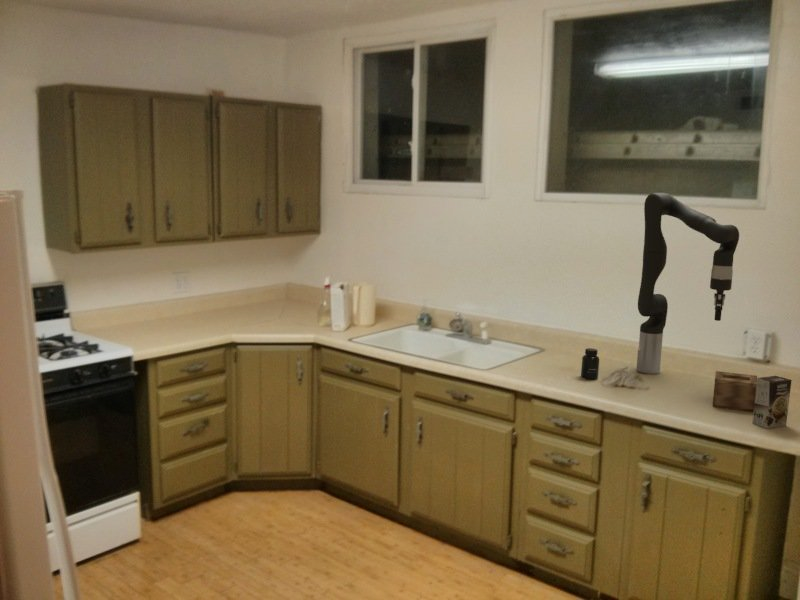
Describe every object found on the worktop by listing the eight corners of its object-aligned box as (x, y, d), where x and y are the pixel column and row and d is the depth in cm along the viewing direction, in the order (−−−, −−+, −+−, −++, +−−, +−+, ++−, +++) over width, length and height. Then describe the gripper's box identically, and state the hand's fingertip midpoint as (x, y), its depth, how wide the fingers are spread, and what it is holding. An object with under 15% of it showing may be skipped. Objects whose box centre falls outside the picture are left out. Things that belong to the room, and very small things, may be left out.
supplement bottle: (591, 381, 296) (593, 352, 294) (577, 377, 301) (579, 349, 299) (601, 378, 300) (603, 349, 298) (587, 374, 305) (589, 346, 303)
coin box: (712, 406, 266) (715, 379, 264) (713, 397, 276) (715, 371, 275) (755, 412, 260) (758, 384, 258) (754, 402, 271) (757, 375, 269)
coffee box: (767, 429, 243) (773, 382, 240) (751, 423, 249) (756, 377, 246) (787, 425, 247) (792, 379, 244) (770, 419, 252) (775, 374, 250)
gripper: (711, 274, 289) (707, 314, 292) (710, 278, 276) (706, 320, 279) (732, 275, 286) (728, 316, 289) (732, 280, 273) (728, 322, 276)
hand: (717, 318), depth 284 cm, fingers open, 8 cm apart
